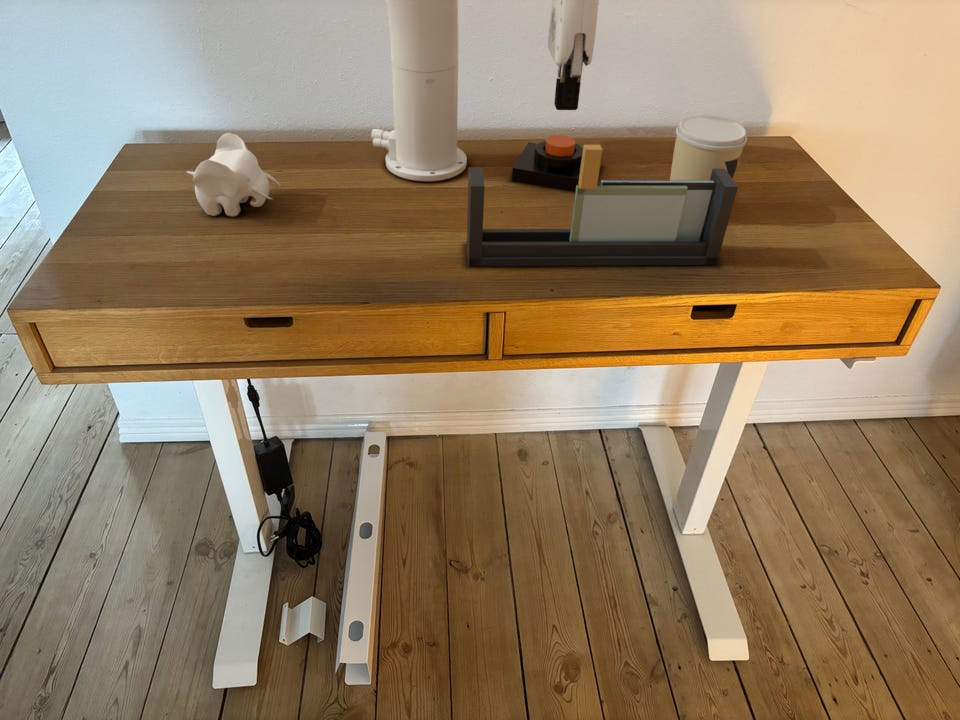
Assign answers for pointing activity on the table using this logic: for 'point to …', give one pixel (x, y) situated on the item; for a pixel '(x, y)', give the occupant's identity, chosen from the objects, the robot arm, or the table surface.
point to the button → (560, 145)
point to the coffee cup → (706, 147)
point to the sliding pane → (622, 208)
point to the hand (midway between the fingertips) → (565, 107)
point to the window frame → (551, 247)
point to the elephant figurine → (230, 178)
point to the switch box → (548, 167)
